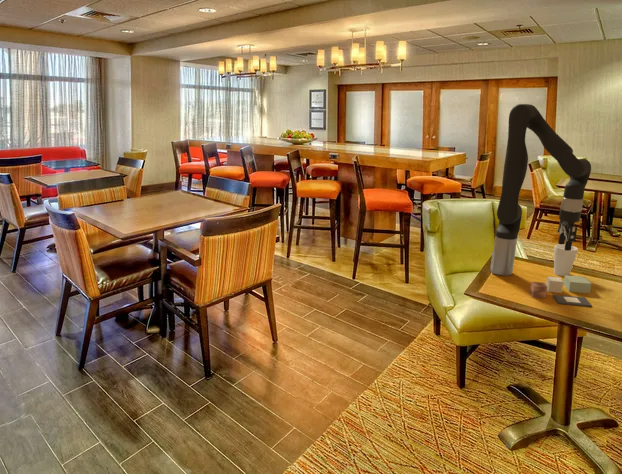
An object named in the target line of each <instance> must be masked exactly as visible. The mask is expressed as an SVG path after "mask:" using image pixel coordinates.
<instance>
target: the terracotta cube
mask: <svg viewBox="0 0 622 474" xmlns="http://www.w3.org/2000/svg"><path fill="white" fill-rule="evenodd" d="M529 288H530V289H529V294H530V296H531V298H536V299H544V300H545V299H546V298H547V294H548V293H547V292H548V290H547V286H546V283H545V282H539V281H530V287H529Z"/></svg>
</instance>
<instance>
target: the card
mask: <svg viewBox="0 0 622 474" xmlns="http://www.w3.org/2000/svg"><path fill="white" fill-rule="evenodd" d="M552 297H553V299H554V300H555V301H556V303H557V304H558V305H567V306H568V305H569V306H579V307H589V308H592V307H593V304H591V302H590V301H589V300H588V299H587V298H586V297H584V296H572V295H562V294H552Z"/></svg>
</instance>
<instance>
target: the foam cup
mask: <svg viewBox="0 0 622 474" xmlns="http://www.w3.org/2000/svg"><path fill="white" fill-rule="evenodd" d="M578 250H579V249H578V247H577V246H576V245H575V246H574V245H572V247H571V250H570V251H566V250H565V243H564V244H563V245H562V244H554V247H553V253H554V254H553V255H554V256H553V260H554V261H553V262H554V263H553V274H554V275H556V276H558V277H559V276H560V277H565V275H567V276H570V274H571V272H572V271H571V270H572V268H573V265H574V262H575V260H576V256H577V254H578Z"/></svg>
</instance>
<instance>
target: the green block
mask: <svg viewBox="0 0 622 474" xmlns="http://www.w3.org/2000/svg"><path fill="white" fill-rule="evenodd" d="M563 277H564V279H563V286H564V287H565V289H566V290H567V291H568V292H573V293H583V294H591V293H590V292H591V289H592V282H591V281H589V279H587V277H586V276H577V275H569V276H567V275H565V276H563Z"/></svg>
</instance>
